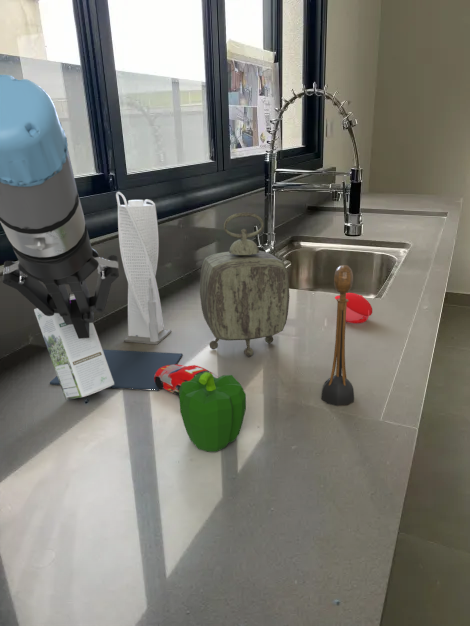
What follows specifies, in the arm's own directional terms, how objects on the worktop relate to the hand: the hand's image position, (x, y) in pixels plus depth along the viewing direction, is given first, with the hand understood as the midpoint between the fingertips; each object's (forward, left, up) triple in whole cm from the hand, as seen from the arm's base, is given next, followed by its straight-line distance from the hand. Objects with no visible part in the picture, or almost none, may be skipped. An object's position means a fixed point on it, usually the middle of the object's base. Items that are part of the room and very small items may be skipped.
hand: (83, 329), depth 71 cm
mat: (0, +11, -11) cm, 15 cm away
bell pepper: (+20, -8, -11) cm, 25 cm away
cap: (+40, +41, -11) cm, 58 cm away
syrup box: (0, 0, -10) cm, 10 cm away
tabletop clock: (+20, +21, -11) cm, 31 cm away
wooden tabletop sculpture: (+36, +6, -11) cm, 38 cm away
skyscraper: (-1, +27, -11) cm, 29 cm away
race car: (+14, +4, -11) cm, 18 cm away
